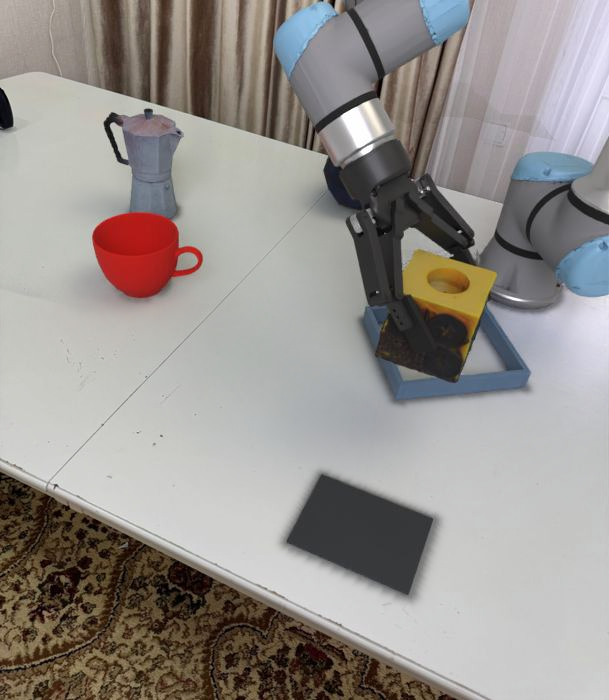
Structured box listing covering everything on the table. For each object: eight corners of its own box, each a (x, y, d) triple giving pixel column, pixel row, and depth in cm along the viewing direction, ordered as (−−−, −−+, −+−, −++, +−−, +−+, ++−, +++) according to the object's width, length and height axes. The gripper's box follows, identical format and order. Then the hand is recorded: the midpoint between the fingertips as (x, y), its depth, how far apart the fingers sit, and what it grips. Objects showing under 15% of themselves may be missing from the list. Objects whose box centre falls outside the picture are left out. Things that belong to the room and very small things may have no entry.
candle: (373, 358, 73) (386, 289, 67) (399, 312, 80) (413, 246, 74) (457, 387, 71) (479, 319, 64) (476, 337, 78) (498, 271, 71)
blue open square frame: (476, 312, 102) (481, 297, 100) (525, 387, 90) (531, 372, 88) (362, 320, 99) (365, 305, 97) (396, 400, 86) (399, 385, 84)
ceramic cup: (191, 320, 96) (188, 266, 89) (87, 303, 97) (76, 248, 91) (215, 274, 106) (213, 222, 99) (120, 258, 107) (112, 206, 100)
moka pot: (181, 230, 115) (173, 124, 102) (103, 217, 117) (85, 111, 104) (198, 206, 122) (192, 104, 109) (124, 194, 124) (109, 92, 111)
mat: (286, 542, 68) (287, 540, 68) (321, 476, 75) (321, 474, 75) (408, 595, 65) (408, 593, 65) (432, 520, 72) (433, 518, 72)
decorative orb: (319, 156, 131) (327, 116, 116) (389, 159, 132) (406, 120, 117) (319, 219, 128) (326, 187, 114) (390, 222, 129) (407, 190, 115)
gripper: (402, 139, 78) (479, 290, 81) (273, 202, 63) (372, 383, 67) (448, 110, 72) (529, 274, 75) (317, 171, 58) (424, 371, 61)
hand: (455, 325), depth 71 cm, fingers closed on candle, 12 cm apart
